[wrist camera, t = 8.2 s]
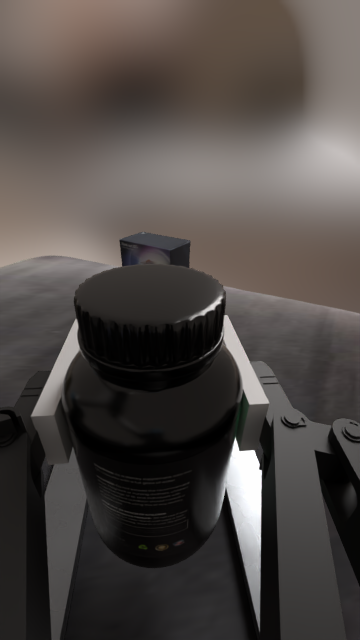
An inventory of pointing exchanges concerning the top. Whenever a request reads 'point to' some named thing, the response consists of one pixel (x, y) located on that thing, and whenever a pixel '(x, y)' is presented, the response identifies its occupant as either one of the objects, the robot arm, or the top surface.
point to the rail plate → (71, 512)
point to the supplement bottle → (152, 408)
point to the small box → (154, 250)
